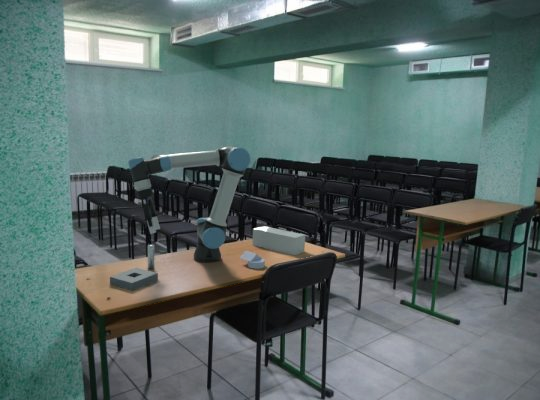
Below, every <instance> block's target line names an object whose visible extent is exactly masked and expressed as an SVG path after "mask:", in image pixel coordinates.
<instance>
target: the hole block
mask: <svg viewBox="0 0 540 400" xmlns="http://www.w3.org/2000/svg"><path fill="white" fill-rule="evenodd" d="M158 280H159V273H158V272H156V271H155V272H154V271H152V270H149V269H148V270H147V269H143V268H139V267H134V268H132V269H128V270H126V271H123V272H120V273H117V274H114V275H111V276H109V285H112V286H115V287H119V288H123V289H125V290H129V291H135V290H137V289H140V288H142V287H145V286H147V285H149V284H153V283H155V282H158Z"/></svg>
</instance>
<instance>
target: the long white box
mask: <svg viewBox="0 0 540 400" xmlns="http://www.w3.org/2000/svg"><path fill="white" fill-rule="evenodd" d="M251 240H252V241H251V242H252V244H251V245H252V246H255V247H259V248H262V247H263V248H262V249H267V250H271V251H275V252H280V253H283V254H284V253H285V254H287V255H288V254H289V255H291V256H296V255H299V254H301V253H304V252H305V250H306V249H305V245H306V234H303V233H299V232H294V231H290V230H283V229H279V228H275V227H274V228H273V227H270V226H265V225H262V226H258V227H254V228H252V239H251Z"/></svg>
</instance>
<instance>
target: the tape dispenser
mask: <svg viewBox="0 0 540 400" xmlns="http://www.w3.org/2000/svg"><path fill="white" fill-rule="evenodd" d="M239 259H240V260H244V261H246V262H247V267H248V268H250V269H253V268H254V269H253V270H255V269H256V270H257V269H259V270H260V269H264V268H265V267H264V266H265V265H266V264H265V262H266V259H264V258H262V257H261V256H260V255H258V254H257V253H254V252H253V251H248V250H244V252H243V253H242V254H241V255H240V256H239ZM263 267H264V268H263Z"/></svg>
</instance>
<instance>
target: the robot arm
mask: <svg viewBox="0 0 540 400" xmlns="http://www.w3.org/2000/svg"><path fill="white" fill-rule="evenodd" d="M250 163H251V155H250V152H249V151H248V150H247V149H246V148H244V147H242V146H239V145H238V146H237V145H230V146H229V145H228V146H225V147H224V146H223V147H218V148H215V149H214V150H206V151H193V152H183V153H181V152H180V153H173V154H155V155H153V156H152V157H151V158H150V159H144V157H143V156H140V157H135V158H130V159H129V160H128V167H129V171H130V175H131V178H132V181H133V184H132V186H133V188H135V191H136V197H137V199H139V200H140V199H142V200H141V204H142V209H143V213H144V222H147V227H148V231H149V234H150V235H153V234H155V233H157V230H161V226H160V224H159V222H160V221H159V220H158V217H159V214H158V213H157V210H156V207H155V206H154V205H155V204H154V202H153V200H152V199H153V198H152V196H154V192H153V188H152V184H151V180H150V178H149V176H151V175H156V174H160V173H165V172H168V171H171V170H172V169H181V168H194V167H195V168H196V167H203V166H204V167H205V166H217V167H221V170H222V171H223V174H222V177H221V179H220V183H219V187H218V189H217V193H216V196H215V199H214V202H213V205H212V208H211V211H210V214H209V216H208V217H200V218H198V219H197V222H196V226H197V228H196V235H197V237H196V247H195V250H194V253H193V260H194V261H196V262H200V263H214V262H219V261H220V260H222V253H221V251H220V247H222V246H223V244H224V243H225V241H226V230H227V229H228V228H227V227H228V224H227V222H226V221H227V218H228V215H229V212H230V209H231V206H232V203H233V199H234V196H235V193H236V191H237V190H236V189H237V188H238V187H237V186H238V184H239V180H240V179H241V177H244V176H245V175H244V174H245V171H246V169H248V167H249V166H250Z"/></svg>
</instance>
